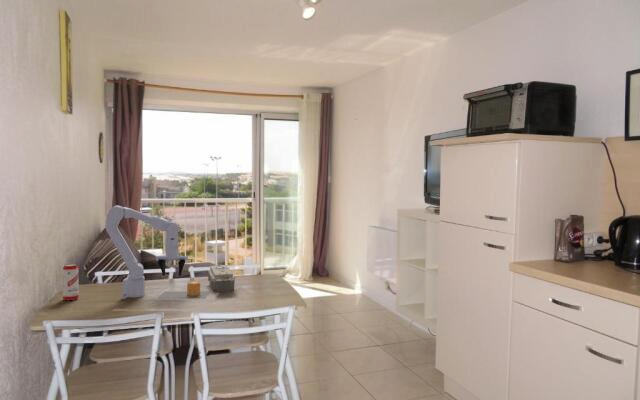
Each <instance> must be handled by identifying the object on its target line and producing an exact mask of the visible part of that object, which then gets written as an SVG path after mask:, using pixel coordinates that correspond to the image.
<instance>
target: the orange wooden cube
mask: <svg viewBox="0 0 640 400" xmlns="http://www.w3.org/2000/svg"><path fill="white" fill-rule="evenodd" d="M186 289H187V290H186V292H187V295H189V296H196V295H199V294H200V292H201V282H200V281H189V282H187V285H186Z"/></svg>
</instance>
